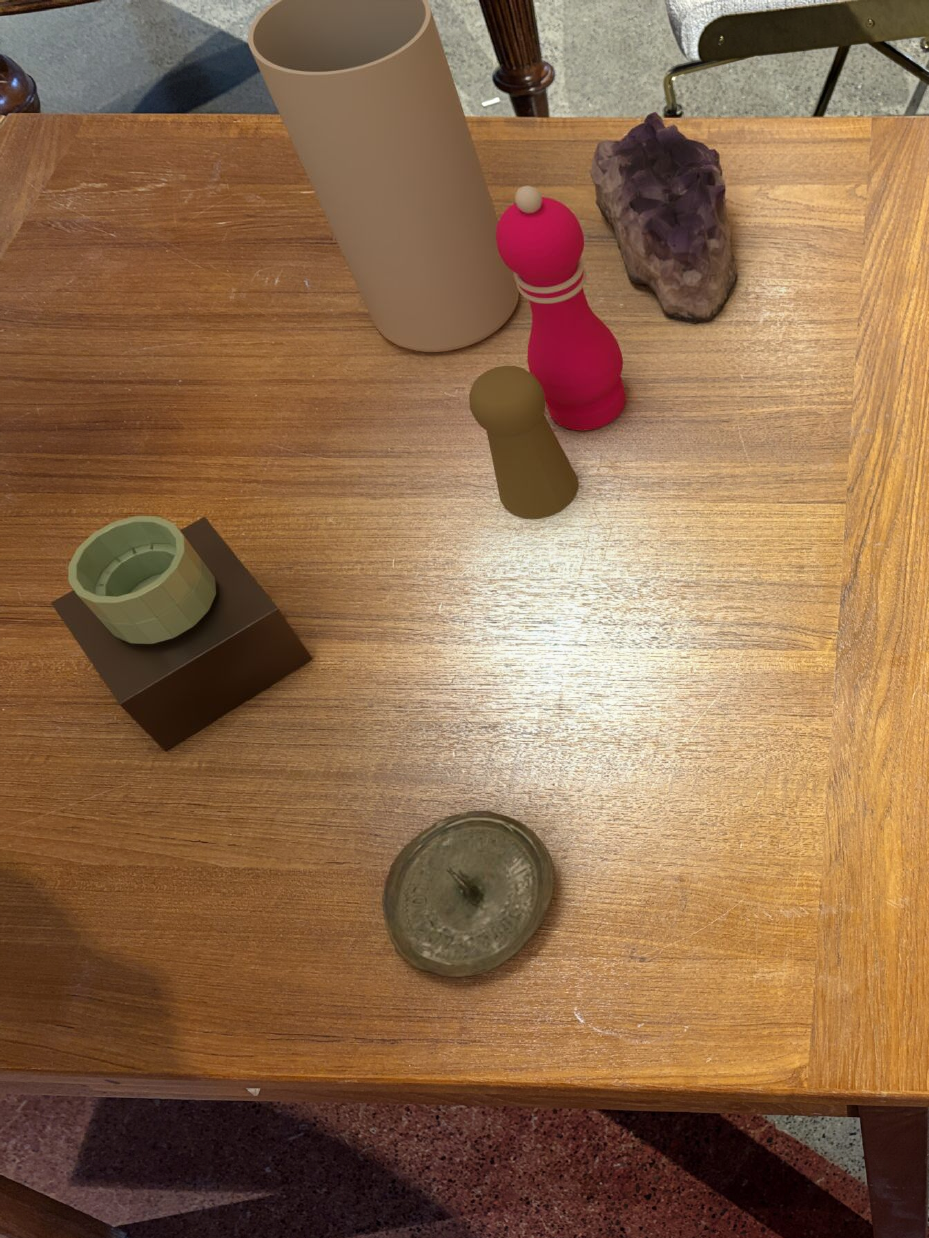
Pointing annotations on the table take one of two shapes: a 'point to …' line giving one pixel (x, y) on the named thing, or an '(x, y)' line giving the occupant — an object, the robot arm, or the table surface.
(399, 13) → the cylinder vase
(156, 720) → the stand
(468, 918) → the lid
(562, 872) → the table surface
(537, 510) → the brown peg doll
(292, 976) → the table surface
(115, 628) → the bowl
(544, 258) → the pepper mill
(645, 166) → the geode
